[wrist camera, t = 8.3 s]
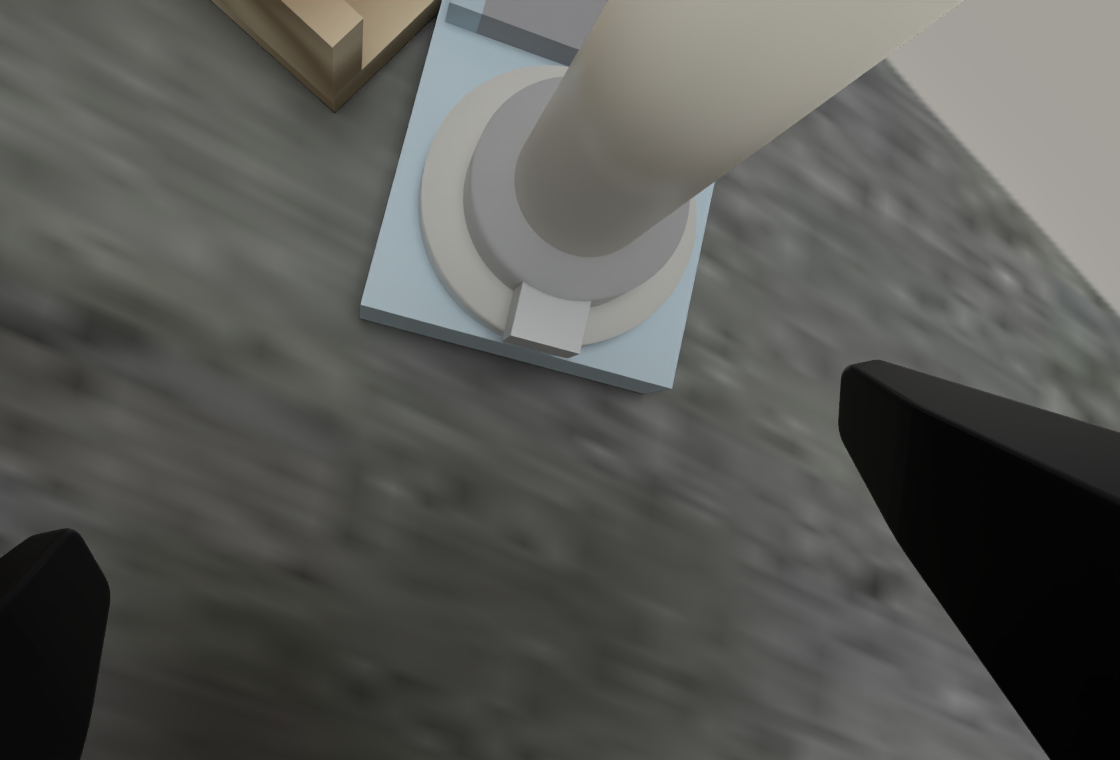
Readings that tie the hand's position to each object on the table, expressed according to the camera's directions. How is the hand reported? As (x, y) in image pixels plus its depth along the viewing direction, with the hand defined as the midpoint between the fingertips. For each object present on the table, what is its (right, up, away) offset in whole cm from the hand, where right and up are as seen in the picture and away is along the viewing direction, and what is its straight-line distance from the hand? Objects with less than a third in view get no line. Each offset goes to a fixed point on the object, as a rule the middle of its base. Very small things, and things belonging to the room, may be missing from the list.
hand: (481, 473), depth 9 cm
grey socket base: (+1, +7, +13) cm, 14 cm away
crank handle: (+1, +5, +10) cm, 11 cm away
